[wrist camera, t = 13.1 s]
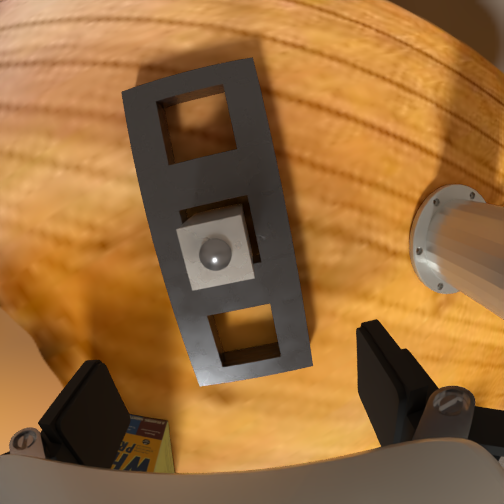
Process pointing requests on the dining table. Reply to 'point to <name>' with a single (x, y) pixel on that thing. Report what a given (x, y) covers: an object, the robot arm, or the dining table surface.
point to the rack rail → (213, 190)
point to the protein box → (145, 447)
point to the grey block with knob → (216, 247)
